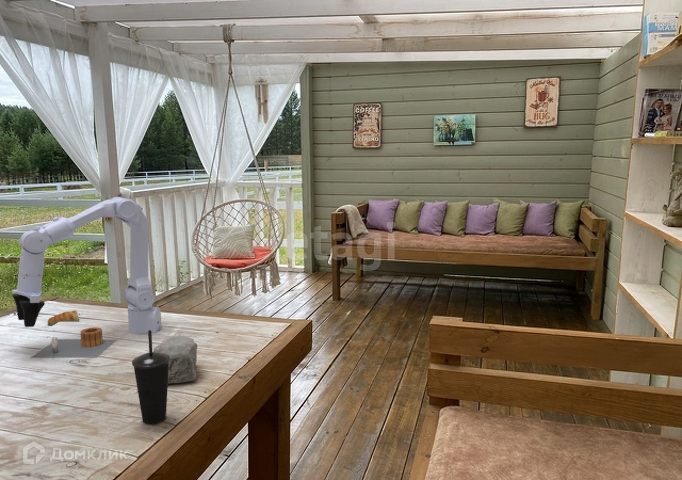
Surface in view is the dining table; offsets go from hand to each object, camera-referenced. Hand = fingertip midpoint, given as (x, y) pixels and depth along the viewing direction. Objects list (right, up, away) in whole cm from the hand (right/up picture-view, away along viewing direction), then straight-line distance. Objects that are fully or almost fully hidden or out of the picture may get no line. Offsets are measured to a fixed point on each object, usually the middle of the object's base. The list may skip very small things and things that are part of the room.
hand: (26, 323), depth 140 cm
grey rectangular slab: (+11, -10, +7) cm, 16 cm away
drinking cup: (+46, -16, -30) cm, 57 cm away
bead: (+13, -8, +10) cm, 18 cm away
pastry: (-7, -6, +33) cm, 34 cm away
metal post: (+7, -9, +3) cm, 11 cm away
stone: (+44, -13, -8) cm, 46 cm away
